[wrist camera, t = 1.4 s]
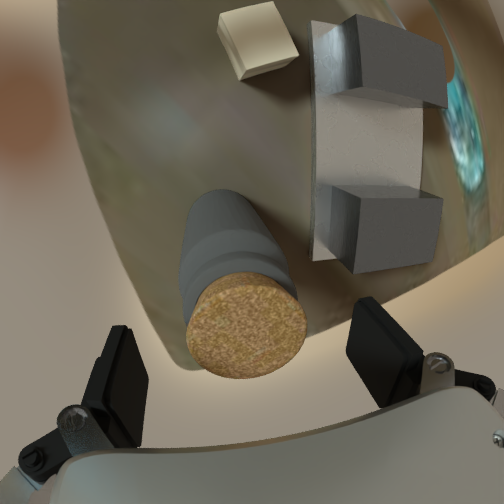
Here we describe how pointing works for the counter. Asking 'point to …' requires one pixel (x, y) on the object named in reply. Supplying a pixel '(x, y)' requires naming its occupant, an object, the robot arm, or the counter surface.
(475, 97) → the counter surface
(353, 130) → the board
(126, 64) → the counter surface
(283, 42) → the loose block
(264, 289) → the bottle
